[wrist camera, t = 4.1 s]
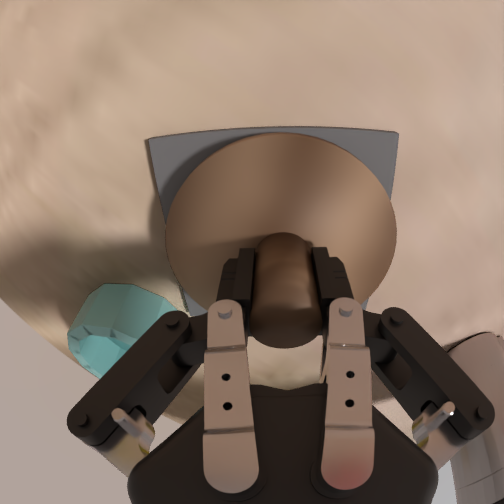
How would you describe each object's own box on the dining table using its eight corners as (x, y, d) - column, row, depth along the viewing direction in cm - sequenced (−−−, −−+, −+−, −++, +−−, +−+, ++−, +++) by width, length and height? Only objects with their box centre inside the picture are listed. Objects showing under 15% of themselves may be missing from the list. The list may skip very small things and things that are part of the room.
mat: (395, 131, 12) (398, 133, 12) (363, 308, 19) (364, 312, 19) (151, 137, 13) (148, 139, 12) (191, 311, 20) (190, 315, 19)
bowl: (176, 285, 18) (160, 332, 15) (201, 361, 24) (194, 401, 20) (71, 282, 19) (47, 319, 16) (113, 352, 24) (99, 386, 21)
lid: (407, 139, 11) (473, 183, 7) (368, 319, 18) (386, 388, 14) (150, 142, 12) (89, 187, 8) (191, 322, 19) (174, 390, 15)
